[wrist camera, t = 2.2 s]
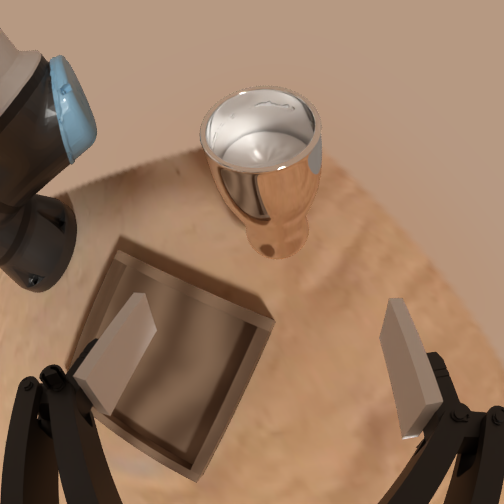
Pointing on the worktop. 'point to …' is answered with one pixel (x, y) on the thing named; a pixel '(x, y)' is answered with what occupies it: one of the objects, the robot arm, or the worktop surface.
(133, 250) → the worktop surface
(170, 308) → the walnut tray
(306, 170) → the silver metal cup
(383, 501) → the robot arm
